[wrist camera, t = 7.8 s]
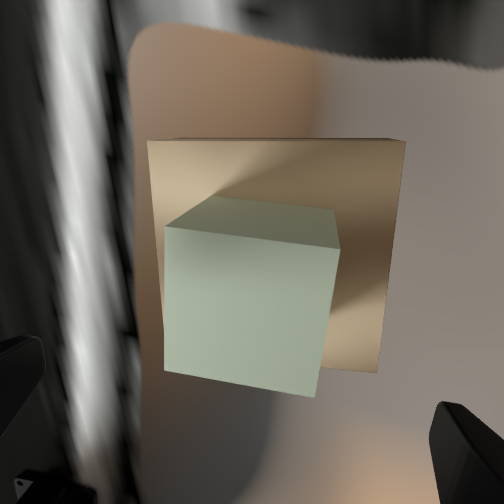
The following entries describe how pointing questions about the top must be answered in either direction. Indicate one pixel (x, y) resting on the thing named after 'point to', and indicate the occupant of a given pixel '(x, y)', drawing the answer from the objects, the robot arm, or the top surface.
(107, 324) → the top surface
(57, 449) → the top surface
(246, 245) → the sage cube
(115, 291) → the top surface
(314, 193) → the oak block
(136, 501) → the top surface
